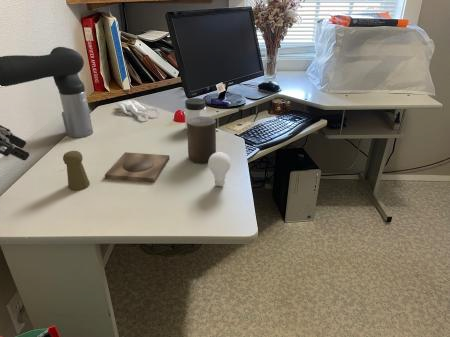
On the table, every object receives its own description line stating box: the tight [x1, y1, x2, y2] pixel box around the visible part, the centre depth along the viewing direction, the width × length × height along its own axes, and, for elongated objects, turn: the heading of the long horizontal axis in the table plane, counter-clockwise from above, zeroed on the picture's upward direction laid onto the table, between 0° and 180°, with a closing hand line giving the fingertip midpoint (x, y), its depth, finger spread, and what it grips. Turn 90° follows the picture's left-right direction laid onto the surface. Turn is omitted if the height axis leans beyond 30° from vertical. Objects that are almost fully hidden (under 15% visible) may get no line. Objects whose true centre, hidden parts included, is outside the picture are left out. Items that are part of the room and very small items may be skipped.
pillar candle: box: [186, 116, 217, 165], centre depth 117 cm, size 10×10×15 cm
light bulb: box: [207, 151, 232, 187], centre depth 101 cm, size 7×7×11 cm
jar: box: [184, 97, 207, 130], centre depth 141 cm, size 9×8×12 cm
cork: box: [62, 150, 91, 192], centre depth 101 cm, size 6×6×11 cm
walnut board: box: [104, 151, 170, 183], centre depth 113 cm, size 16×16×2 cm
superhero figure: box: [117, 99, 160, 122], centre depth 160 cm, size 12×6×25 cm
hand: (26, 151), depth 91 cm, fingers open, 8 cm apart
